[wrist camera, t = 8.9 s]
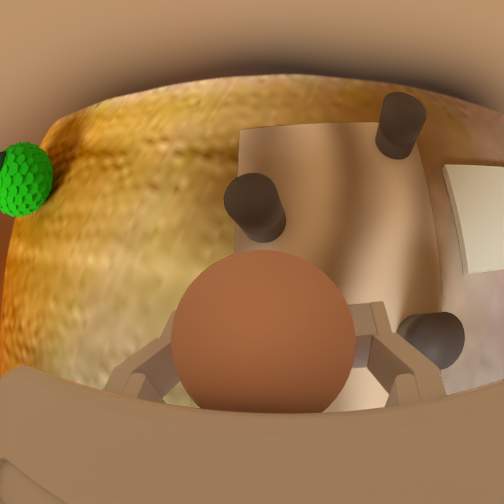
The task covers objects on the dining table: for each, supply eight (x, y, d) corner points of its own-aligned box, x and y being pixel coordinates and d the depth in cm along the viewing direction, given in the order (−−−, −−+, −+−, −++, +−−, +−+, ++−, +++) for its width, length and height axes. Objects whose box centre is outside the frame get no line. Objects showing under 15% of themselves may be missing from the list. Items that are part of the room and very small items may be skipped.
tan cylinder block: (333, 284, 16) (349, 243, 7) (335, 372, 15) (354, 430, 6) (246, 289, 17) (172, 256, 8) (247, 374, 16) (174, 423, 7)
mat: (511, 172, 16) (515, 168, 15) (534, 264, 14) (539, 262, 13) (441, 169, 18) (445, 164, 17) (463, 274, 16) (468, 272, 15)
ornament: (57, 150, 28) (3, 111, 19) (75, 183, 25) (6, 140, 16) (22, 200, 28) (-34, 172, 18) (35, 240, 25) (-35, 213, 16)
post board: (409, 128, 20) (423, 89, 15) (427, 441, 14) (452, 468, 10) (241, 134, 23) (224, 96, 18) (233, 446, 17) (210, 476, 13)
